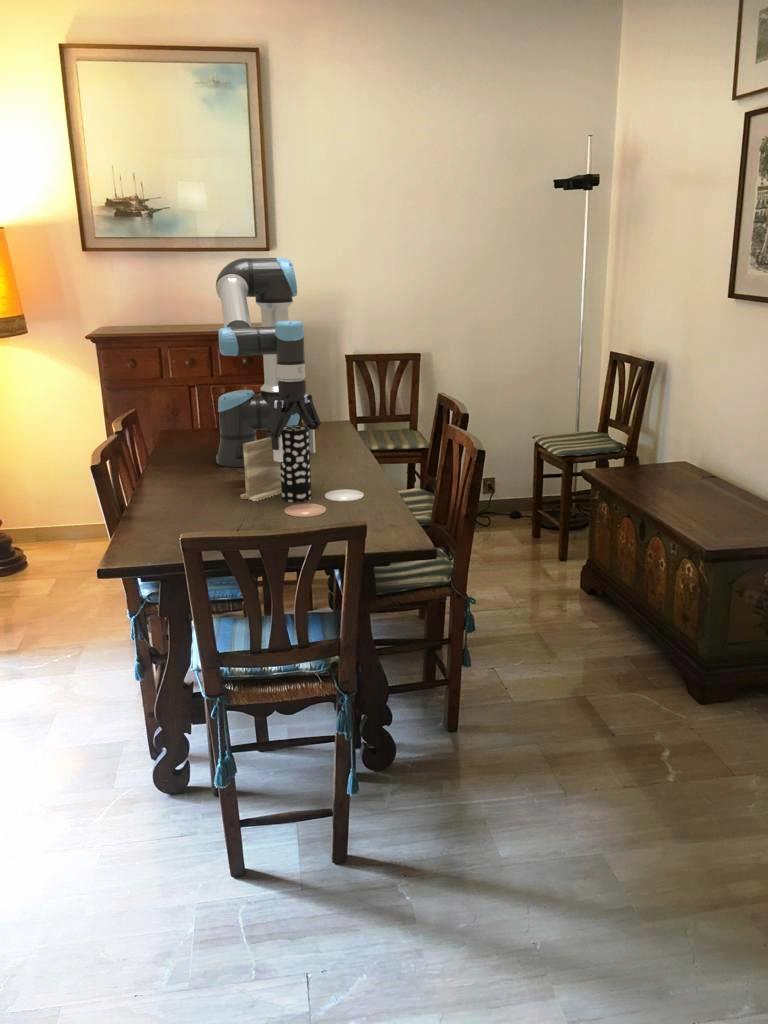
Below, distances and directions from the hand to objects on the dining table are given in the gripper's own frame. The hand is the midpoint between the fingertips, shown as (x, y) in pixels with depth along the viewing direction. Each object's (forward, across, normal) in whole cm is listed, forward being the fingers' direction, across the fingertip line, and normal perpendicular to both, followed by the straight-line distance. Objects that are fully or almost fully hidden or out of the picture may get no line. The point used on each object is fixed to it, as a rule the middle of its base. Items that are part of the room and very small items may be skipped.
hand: (295, 456), depth 225 cm
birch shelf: (+12, 0, +10) cm, 16 cm away
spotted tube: (+12, 0, 0) cm, 12 cm away
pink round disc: (+12, -8, -10) cm, 17 cm away
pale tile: (+12, +9, -10) cm, 18 cm away
